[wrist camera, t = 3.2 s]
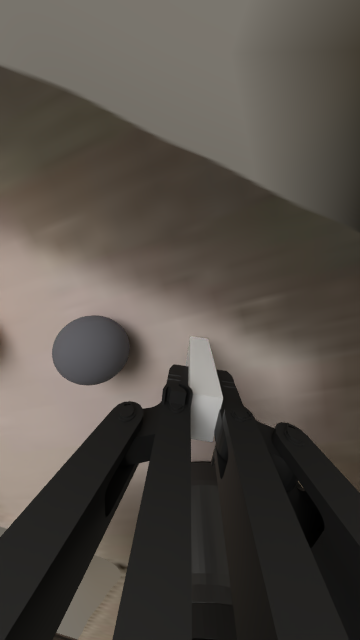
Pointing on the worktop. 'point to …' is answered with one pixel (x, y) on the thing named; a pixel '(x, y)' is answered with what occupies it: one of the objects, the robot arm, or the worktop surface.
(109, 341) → the dark gray ball
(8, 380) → the worktop surface
